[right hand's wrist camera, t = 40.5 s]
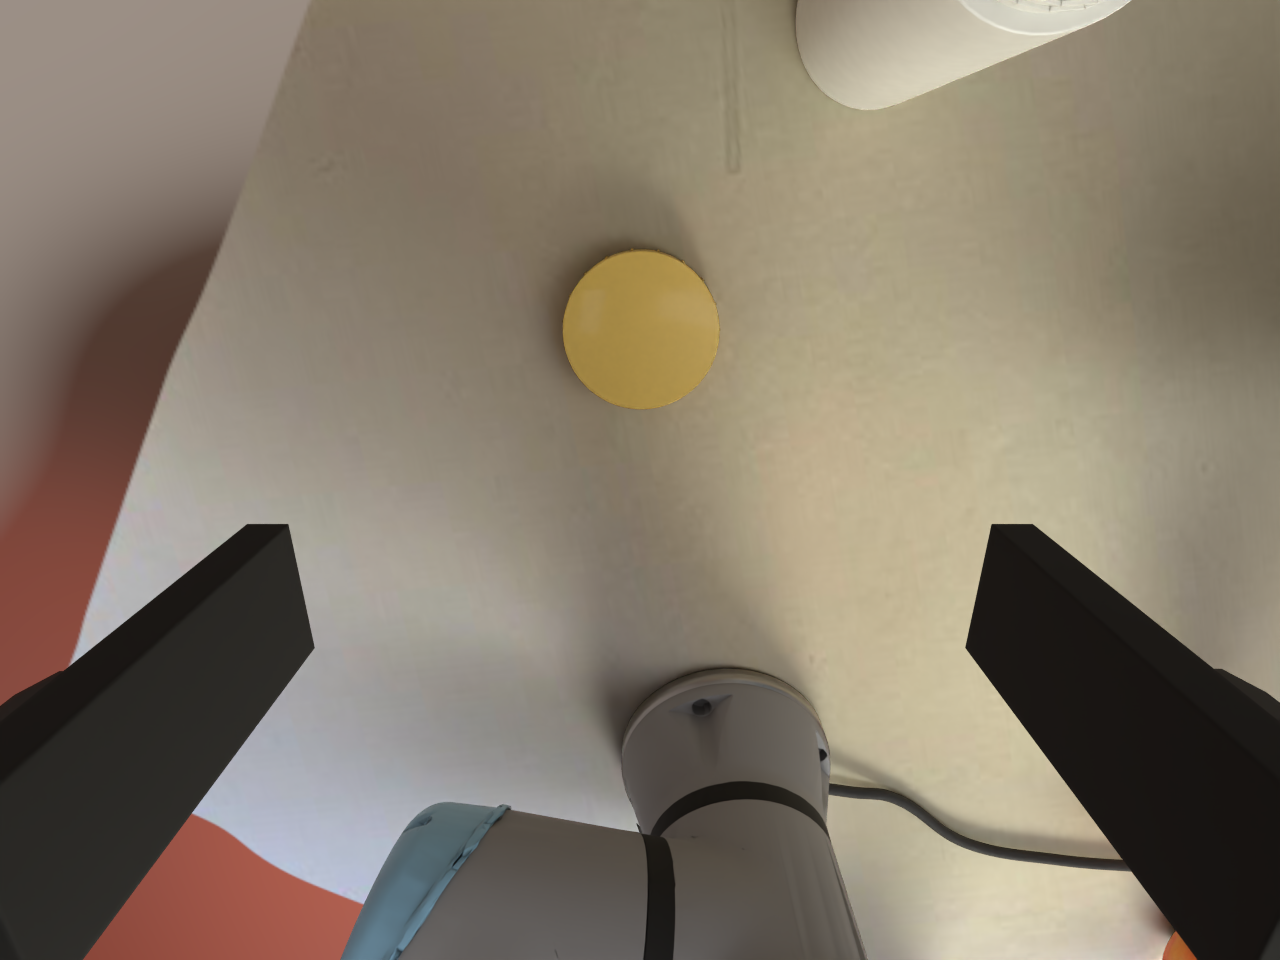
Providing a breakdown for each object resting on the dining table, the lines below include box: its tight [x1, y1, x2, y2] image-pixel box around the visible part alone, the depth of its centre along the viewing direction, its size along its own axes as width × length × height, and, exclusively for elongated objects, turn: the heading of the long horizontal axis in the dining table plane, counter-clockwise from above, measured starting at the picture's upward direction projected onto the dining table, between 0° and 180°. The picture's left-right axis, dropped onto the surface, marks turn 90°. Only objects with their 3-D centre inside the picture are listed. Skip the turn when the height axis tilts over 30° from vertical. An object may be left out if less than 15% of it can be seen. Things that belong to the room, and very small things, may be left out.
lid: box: [562, 248, 720, 409], centre depth 39 cm, size 9×9×2 cm
